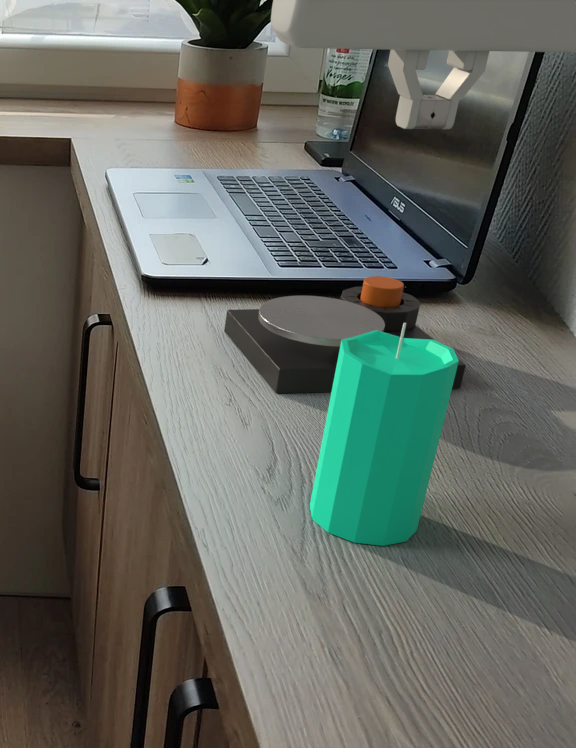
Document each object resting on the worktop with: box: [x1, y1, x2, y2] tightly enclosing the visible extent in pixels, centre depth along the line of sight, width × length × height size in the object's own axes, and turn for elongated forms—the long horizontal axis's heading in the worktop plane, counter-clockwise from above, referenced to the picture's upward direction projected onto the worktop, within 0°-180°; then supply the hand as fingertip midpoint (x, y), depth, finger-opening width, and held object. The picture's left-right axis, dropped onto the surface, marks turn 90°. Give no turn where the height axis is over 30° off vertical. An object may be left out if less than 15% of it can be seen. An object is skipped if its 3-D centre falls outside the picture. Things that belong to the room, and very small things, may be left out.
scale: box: [223, 286, 467, 394], centre depth 84 cm, size 14×12×4 cm
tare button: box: [360, 275, 405, 307], centre depth 86 cm, size 3×3×2 cm
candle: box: [309, 323, 460, 547], centre depth 61 cm, size 6×6×12 cm
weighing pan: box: [258, 295, 385, 347], centre depth 81 cm, size 9×9×1 cm
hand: (423, 127), depth 67 cm, fingers closed
